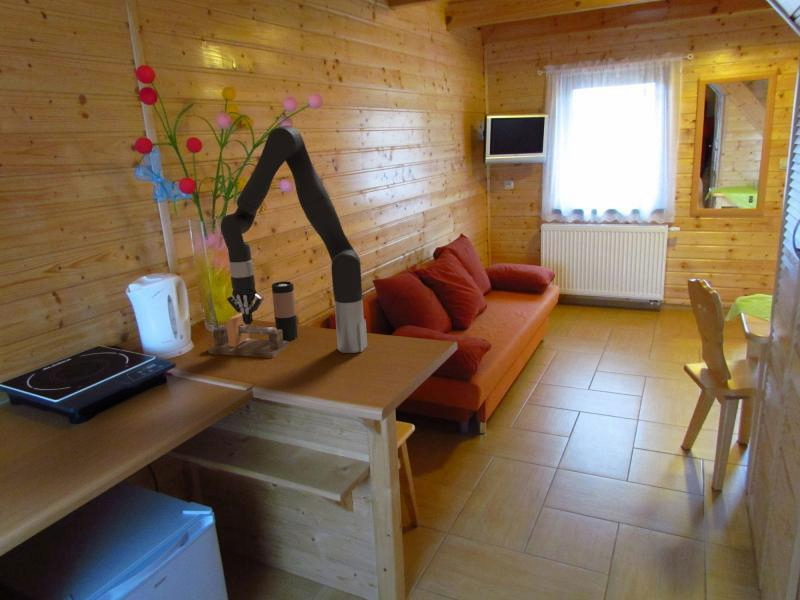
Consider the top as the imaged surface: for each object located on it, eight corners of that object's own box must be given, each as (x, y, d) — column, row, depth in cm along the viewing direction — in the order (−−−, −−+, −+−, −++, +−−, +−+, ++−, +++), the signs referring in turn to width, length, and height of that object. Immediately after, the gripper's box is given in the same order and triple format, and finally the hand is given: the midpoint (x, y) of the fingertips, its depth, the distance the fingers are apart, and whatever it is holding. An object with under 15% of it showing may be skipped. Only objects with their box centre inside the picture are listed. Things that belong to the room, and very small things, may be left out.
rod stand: (289, 345, 195) (287, 322, 193) (273, 357, 184) (270, 333, 182) (228, 341, 202) (225, 319, 199) (208, 353, 190) (205, 330, 188)
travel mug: (273, 341, 200) (267, 286, 194) (281, 334, 207) (276, 281, 202) (294, 341, 199) (288, 286, 193) (301, 334, 206) (296, 281, 200)
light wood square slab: (249, 337, 197) (246, 312, 195) (235, 346, 189) (232, 320, 186) (243, 337, 198) (240, 312, 195) (229, 346, 189) (225, 320, 187)
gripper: (265, 271, 187) (271, 321, 192) (230, 271, 191) (236, 319, 196) (254, 277, 180) (260, 328, 185) (218, 276, 184) (224, 326, 189)
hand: (248, 323), depth 190 cm, fingers closed
